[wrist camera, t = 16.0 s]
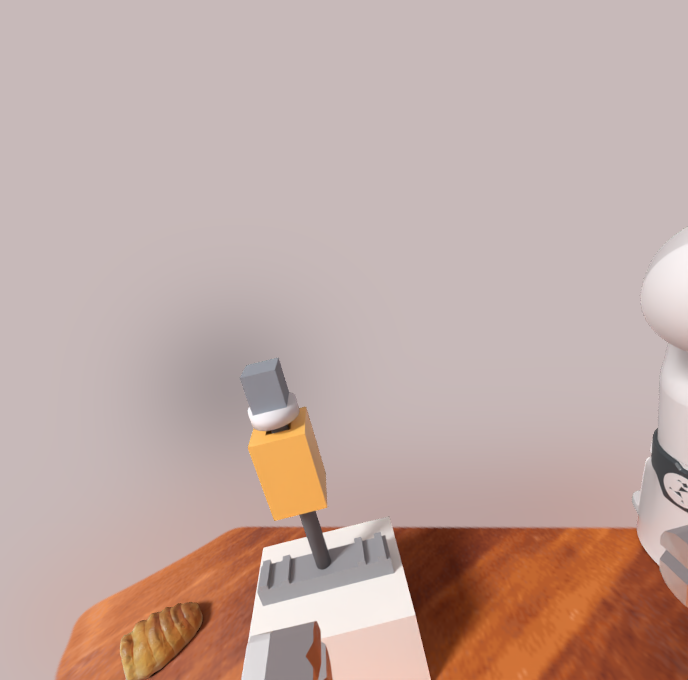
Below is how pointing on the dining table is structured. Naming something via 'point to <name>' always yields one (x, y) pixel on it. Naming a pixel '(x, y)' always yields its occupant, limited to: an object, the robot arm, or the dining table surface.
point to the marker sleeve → (290, 468)
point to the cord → (279, 430)
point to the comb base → (346, 602)
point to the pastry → (158, 639)
